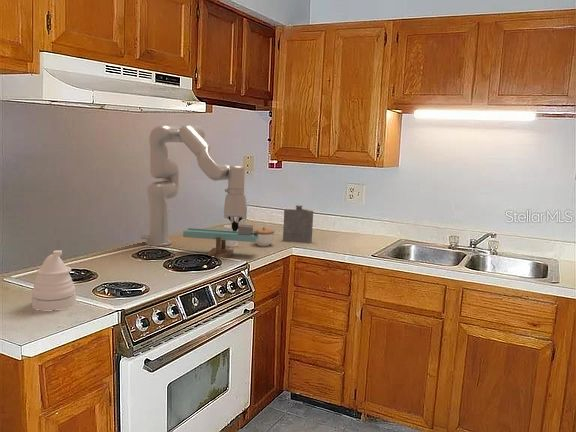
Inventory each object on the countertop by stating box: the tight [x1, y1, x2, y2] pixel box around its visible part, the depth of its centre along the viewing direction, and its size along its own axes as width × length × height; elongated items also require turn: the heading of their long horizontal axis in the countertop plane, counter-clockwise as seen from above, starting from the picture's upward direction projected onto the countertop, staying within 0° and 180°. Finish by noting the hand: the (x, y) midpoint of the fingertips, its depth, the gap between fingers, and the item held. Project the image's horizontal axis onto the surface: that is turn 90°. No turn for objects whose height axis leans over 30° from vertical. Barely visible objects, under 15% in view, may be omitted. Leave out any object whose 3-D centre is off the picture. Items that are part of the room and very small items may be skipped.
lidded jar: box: [253, 226, 275, 247], centre depth 268 cm, size 11×11×9 cm
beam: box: [182, 227, 258, 243], centre depth 243 cm, size 34×10×5 cm, turn 85°
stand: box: [206, 237, 235, 259], centre depth 243 cm, size 10×13×9 cm
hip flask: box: [282, 204, 314, 244], centre depth 279 cm, size 16×4×20 cm, turn 80°
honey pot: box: [31, 249, 77, 310], centre depth 165 cm, size 13×13×18 cm
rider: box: [238, 224, 254, 236], centre depth 241 cm, size 6×6×4 cm
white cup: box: [223, 224, 239, 248], centre depth 263 cm, size 8×8×10 cm
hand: (234, 230), depth 242 cm, fingers closed
